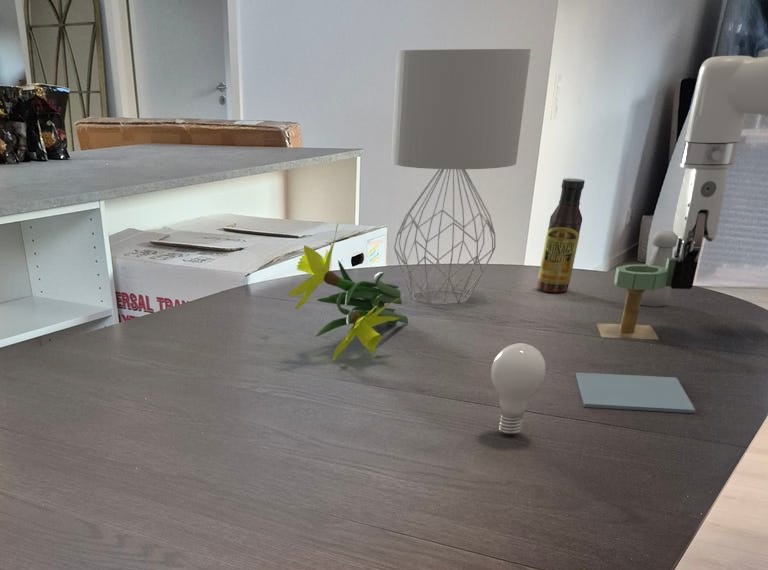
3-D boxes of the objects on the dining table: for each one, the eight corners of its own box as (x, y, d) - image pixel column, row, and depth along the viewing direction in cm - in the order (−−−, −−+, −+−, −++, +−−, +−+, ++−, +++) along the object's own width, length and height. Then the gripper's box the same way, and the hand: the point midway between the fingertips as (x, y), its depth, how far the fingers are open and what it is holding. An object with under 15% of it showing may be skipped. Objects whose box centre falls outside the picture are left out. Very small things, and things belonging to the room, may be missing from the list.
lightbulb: (537, 445, 102) (552, 352, 96) (483, 442, 103) (495, 350, 97) (533, 426, 107) (548, 338, 101) (482, 424, 108) (493, 336, 102)
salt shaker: (662, 313, 155) (680, 235, 148) (630, 309, 157) (647, 232, 150) (670, 306, 159) (688, 230, 152) (638, 302, 162) (655, 228, 154)
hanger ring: (684, 280, 139) (690, 254, 137) (693, 290, 133) (699, 263, 131) (612, 279, 141) (616, 253, 139) (617, 289, 135) (622, 262, 133)
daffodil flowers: (449, 333, 147) (389, 323, 117) (376, 372, 154) (301, 372, 124) (412, 240, 146) (342, 206, 115) (340, 284, 153) (255, 261, 122)
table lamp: (519, 307, 160) (555, 48, 137) (407, 315, 155) (426, 49, 132) (469, 282, 177) (494, 50, 155) (368, 288, 173) (379, 50, 150)
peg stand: (649, 330, 145) (663, 270, 140) (658, 344, 138) (672, 281, 133) (595, 327, 147) (606, 268, 141) (600, 341, 140) (612, 279, 134)
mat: (675, 380, 122) (676, 377, 122) (694, 413, 111) (695, 409, 111) (575, 375, 125) (576, 372, 124) (584, 407, 113) (584, 403, 113)
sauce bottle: (534, 292, 169) (551, 180, 158) (538, 286, 174) (555, 176, 163) (568, 295, 167) (587, 181, 156) (571, 288, 172) (590, 177, 161)
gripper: (748, 160, 119) (714, 298, 130) (723, 151, 132) (694, 277, 142) (691, 161, 121) (662, 297, 131) (672, 151, 133) (647, 276, 144)
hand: (679, 285), depth 137 cm, fingers closed on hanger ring
